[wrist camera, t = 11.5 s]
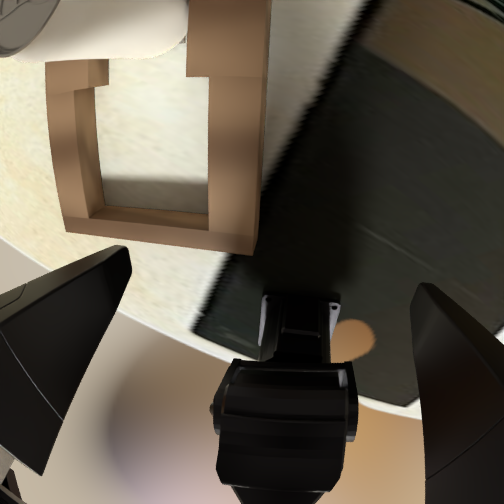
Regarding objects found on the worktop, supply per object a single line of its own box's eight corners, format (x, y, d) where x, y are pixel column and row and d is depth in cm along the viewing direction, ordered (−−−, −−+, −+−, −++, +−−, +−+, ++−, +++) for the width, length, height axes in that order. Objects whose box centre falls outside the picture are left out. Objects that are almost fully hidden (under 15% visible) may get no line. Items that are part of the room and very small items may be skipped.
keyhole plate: (257, 237, 23) (252, 255, 21) (82, 218, 25) (66, 231, 23) (274, -59, 12) (270, -75, 9) (71, -20, 13) (52, -24, 11)
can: (194, 56, 17) (70, 45, 7) (111, 64, 17) (-27, 83, 7) (201, -29, 13) (96, -103, 3) (116, -13, 14) (-12, -38, 4)
